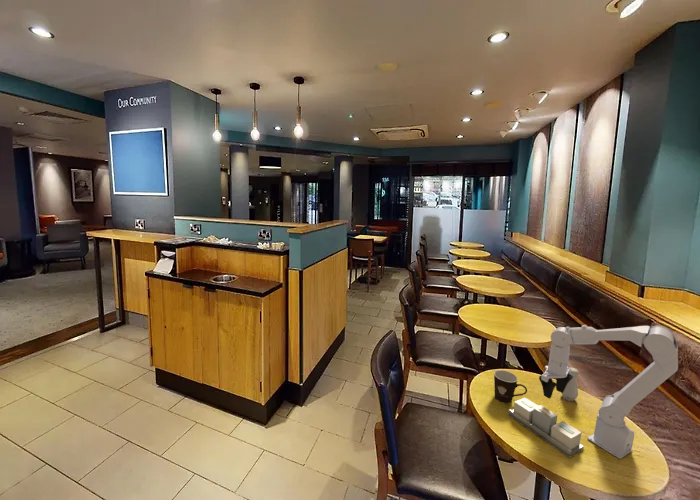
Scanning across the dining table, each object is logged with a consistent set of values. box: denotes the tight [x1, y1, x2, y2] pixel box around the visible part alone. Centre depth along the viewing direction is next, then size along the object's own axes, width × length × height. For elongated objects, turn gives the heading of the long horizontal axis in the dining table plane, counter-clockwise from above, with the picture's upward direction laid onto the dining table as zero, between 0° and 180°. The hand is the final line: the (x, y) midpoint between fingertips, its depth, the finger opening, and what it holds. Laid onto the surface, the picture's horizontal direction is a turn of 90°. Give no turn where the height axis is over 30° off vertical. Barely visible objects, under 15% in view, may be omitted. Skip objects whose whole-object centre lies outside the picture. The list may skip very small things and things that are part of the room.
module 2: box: [551, 420, 583, 450], centre depth 105 cm, size 6×6×5 cm
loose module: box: [532, 404, 558, 434], centre depth 112 cm, size 6×4×6 cm, turn 27°
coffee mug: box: [493, 369, 528, 404], centre depth 127 cm, size 12×9×10 cm
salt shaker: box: [561, 366, 580, 402], centre depth 129 cm, size 6×6×13 cm
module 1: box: [512, 397, 539, 422], centre depth 118 cm, size 6×6×5 cm
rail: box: [507, 408, 585, 459], centre depth 112 cm, size 22×8×2 cm, turn 27°
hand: (553, 394), depth 117 cm, fingers open, 7 cm apart
